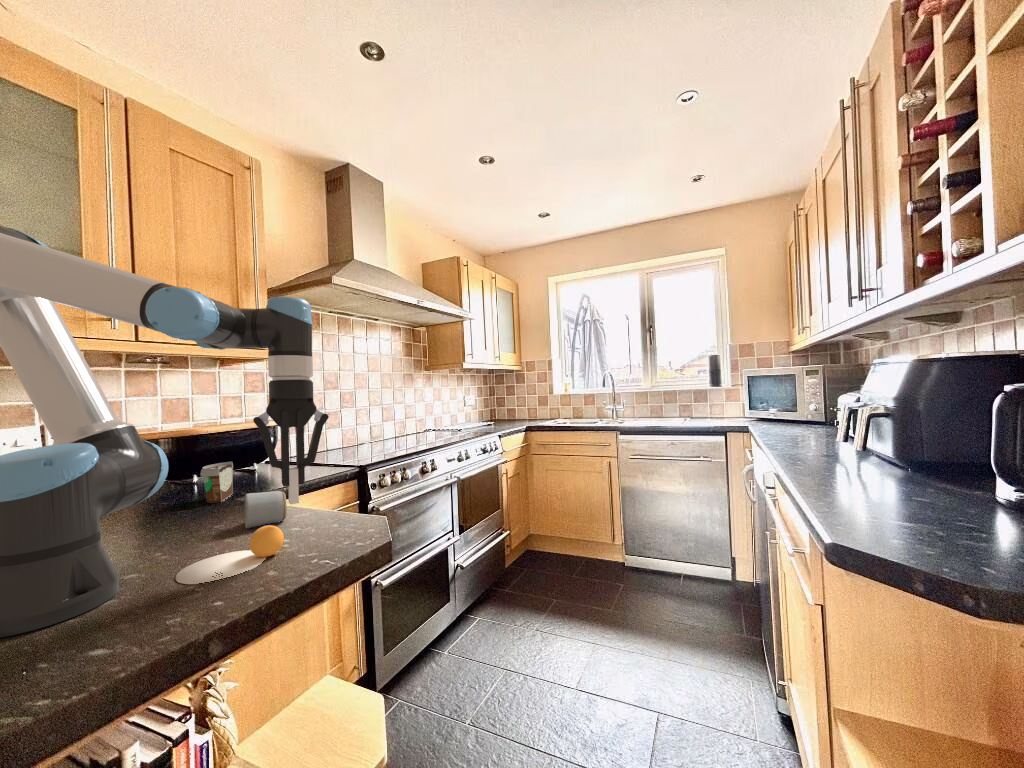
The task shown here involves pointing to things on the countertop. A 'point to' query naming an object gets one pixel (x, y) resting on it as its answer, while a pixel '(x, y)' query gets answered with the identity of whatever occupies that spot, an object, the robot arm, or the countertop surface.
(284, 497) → the ceramic mug
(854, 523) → the countertop surface
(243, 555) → the cream disc
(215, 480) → the food container
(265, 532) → the ball
